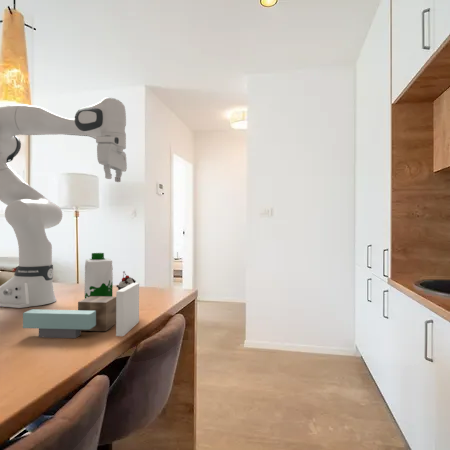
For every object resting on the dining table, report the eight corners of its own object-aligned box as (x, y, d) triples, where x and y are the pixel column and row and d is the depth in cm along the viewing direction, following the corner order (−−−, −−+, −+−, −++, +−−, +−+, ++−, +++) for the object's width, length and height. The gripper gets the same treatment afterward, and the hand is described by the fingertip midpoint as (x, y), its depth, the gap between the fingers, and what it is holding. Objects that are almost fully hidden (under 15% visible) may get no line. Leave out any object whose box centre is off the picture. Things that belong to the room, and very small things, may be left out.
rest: (38, 337, 93) (38, 327, 93) (45, 333, 96) (45, 324, 96) (75, 338, 93) (75, 328, 93) (80, 334, 96) (80, 325, 96)
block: (77, 330, 99) (78, 301, 99) (90, 322, 107) (90, 296, 106) (105, 331, 98) (106, 302, 98) (116, 323, 106) (116, 296, 106)
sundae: (117, 320, 111) (117, 272, 111) (114, 314, 117) (114, 269, 117) (138, 317, 113) (138, 271, 113) (134, 313, 119) (135, 268, 119)
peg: (22, 328, 93) (22, 312, 93) (32, 323, 97) (32, 309, 97) (89, 329, 92) (89, 314, 92) (95, 325, 96) (95, 310, 96)
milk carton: (109, 308, 126) (109, 252, 126) (114, 314, 118) (114, 254, 118) (83, 311, 122) (83, 253, 122) (86, 317, 114) (86, 255, 114)
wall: (116, 336, 95) (116, 291, 95) (132, 321, 109) (132, 282, 109) (123, 336, 95) (123, 291, 95) (139, 321, 109) (139, 282, 109)
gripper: (115, 149, 141) (115, 183, 141) (93, 136, 121) (93, 176, 121) (130, 149, 141) (130, 183, 141) (111, 136, 120) (111, 176, 120)
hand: (113, 180), depth 131 cm, fingers open, 8 cm apart
